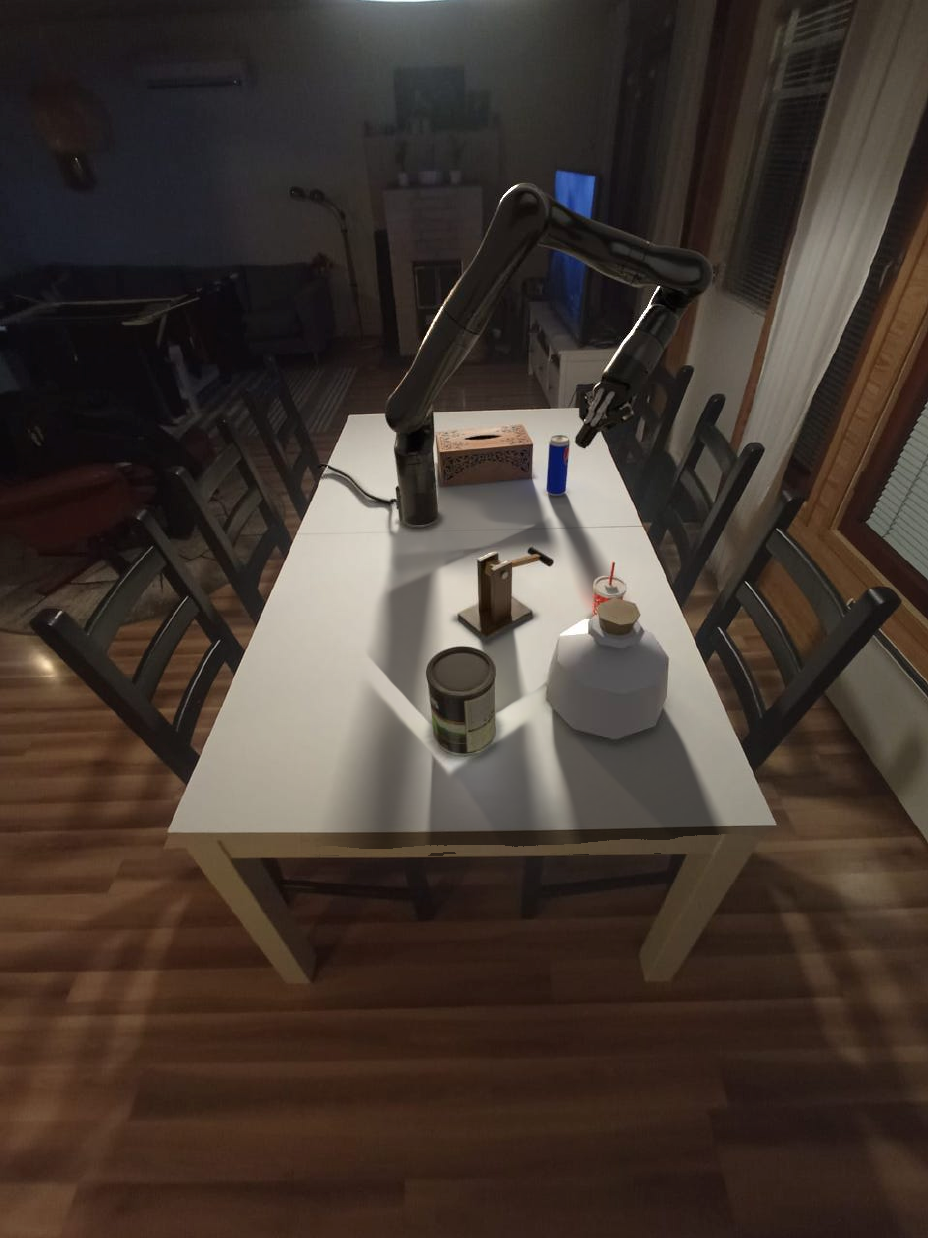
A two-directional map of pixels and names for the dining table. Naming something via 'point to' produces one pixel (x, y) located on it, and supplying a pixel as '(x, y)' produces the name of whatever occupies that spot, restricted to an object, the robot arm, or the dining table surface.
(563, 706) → the bottle
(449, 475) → the tissue box cover
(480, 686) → the coffee can
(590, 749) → the dining table surface
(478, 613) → the lever base
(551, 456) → the beverage can
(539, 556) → the wooden lever handle
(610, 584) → the beverage cup
